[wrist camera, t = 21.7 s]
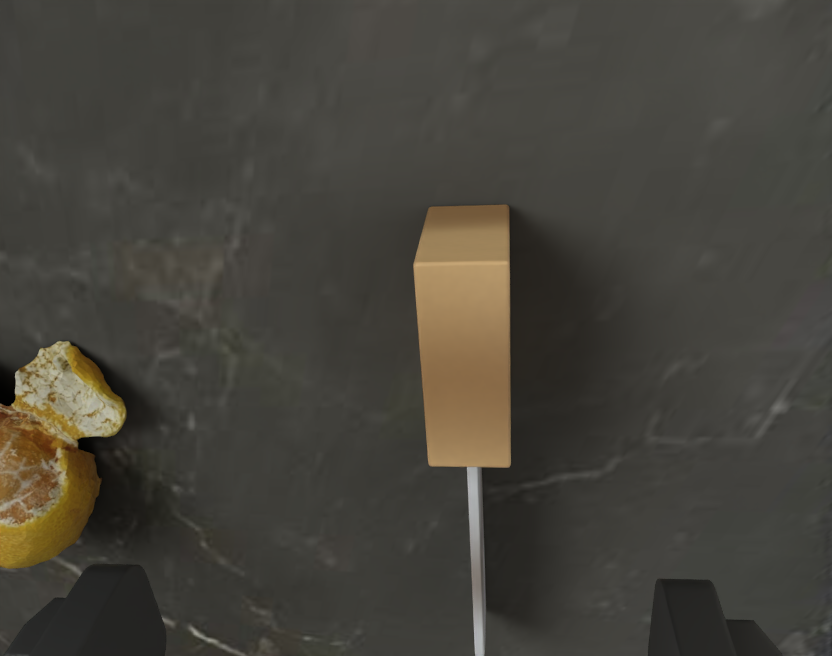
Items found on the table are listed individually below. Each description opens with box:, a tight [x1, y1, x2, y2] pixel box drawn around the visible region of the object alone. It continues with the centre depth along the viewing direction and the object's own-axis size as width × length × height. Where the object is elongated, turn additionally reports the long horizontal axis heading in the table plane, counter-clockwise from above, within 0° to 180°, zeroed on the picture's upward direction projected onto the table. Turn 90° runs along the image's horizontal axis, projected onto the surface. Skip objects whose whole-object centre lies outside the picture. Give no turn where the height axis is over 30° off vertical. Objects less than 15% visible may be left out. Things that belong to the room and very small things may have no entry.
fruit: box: [0, 341, 127, 569], centre depth 24 cm, size 8×8×4 cm
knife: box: [413, 205, 511, 656], centre depth 22 cm, size 16×2×4 cm, turn 4°
